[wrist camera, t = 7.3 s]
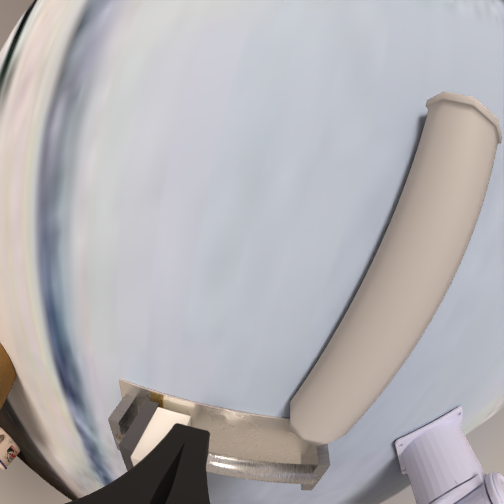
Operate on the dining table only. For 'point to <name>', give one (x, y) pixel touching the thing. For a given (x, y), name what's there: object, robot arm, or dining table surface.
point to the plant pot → (5, 375)
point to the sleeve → (157, 431)
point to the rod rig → (234, 439)
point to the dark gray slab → (136, 431)
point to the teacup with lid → (7, 449)
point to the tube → (404, 270)
